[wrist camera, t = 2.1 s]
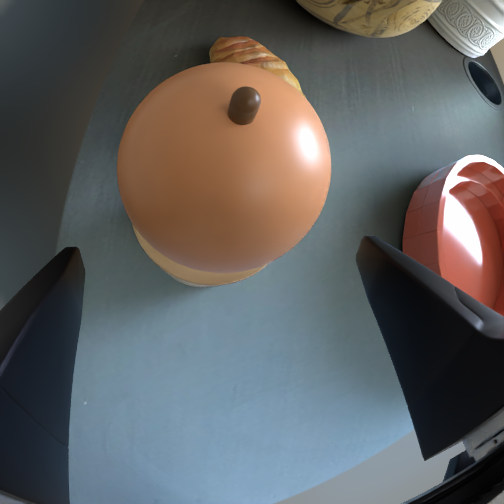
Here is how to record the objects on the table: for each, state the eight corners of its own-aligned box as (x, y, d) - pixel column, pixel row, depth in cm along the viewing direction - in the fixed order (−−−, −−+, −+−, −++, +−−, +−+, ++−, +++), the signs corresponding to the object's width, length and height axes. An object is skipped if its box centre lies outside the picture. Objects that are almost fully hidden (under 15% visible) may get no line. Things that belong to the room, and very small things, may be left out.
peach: (303, 258, 14) (427, 223, 6) (152, 293, 12) (103, 298, 5) (266, 124, 14) (333, 2, 7) (127, 147, 13) (86, 17, 5)
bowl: (514, 313, 28) (545, 313, 23) (416, 378, 24) (454, 389, 19) (484, 167, 29) (514, 154, 24) (374, 178, 25) (409, 157, 21)
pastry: (188, 58, 23) (191, 28, 20) (257, 41, 25) (267, 14, 21) (235, 143, 23) (245, 118, 20) (308, 119, 25) (326, 95, 21)
